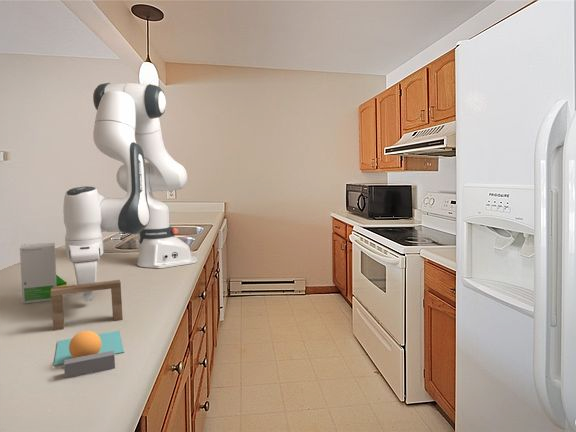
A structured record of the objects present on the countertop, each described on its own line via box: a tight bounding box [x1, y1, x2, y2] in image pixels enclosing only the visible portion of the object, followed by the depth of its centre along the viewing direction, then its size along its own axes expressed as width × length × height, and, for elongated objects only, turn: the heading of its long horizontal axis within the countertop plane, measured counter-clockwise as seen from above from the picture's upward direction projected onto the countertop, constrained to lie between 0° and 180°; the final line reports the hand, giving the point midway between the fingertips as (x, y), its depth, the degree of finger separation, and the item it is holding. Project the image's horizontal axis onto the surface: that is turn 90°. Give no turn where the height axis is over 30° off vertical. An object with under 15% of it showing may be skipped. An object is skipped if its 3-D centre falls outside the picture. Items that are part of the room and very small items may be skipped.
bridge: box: [50, 279, 124, 331], centre depth 95 cm, size 3×14×9 cm, turn 117°
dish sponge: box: [56, 274, 68, 287], centre depth 127 cm, size 7×14×2 cm, turn 42°
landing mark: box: [53, 330, 125, 367], centre depth 83 cm, size 12×12×1 cm
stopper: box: [63, 351, 116, 379], centre depth 73 cm, size 8×2×2 cm, turn 117°
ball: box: [69, 330, 101, 358], centre depth 77 cm, size 6×6×6 cm
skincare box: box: [19, 242, 57, 305], centre depth 114 cm, size 8×7×16 cm
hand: (88, 299), depth 108 cm, fingers closed
